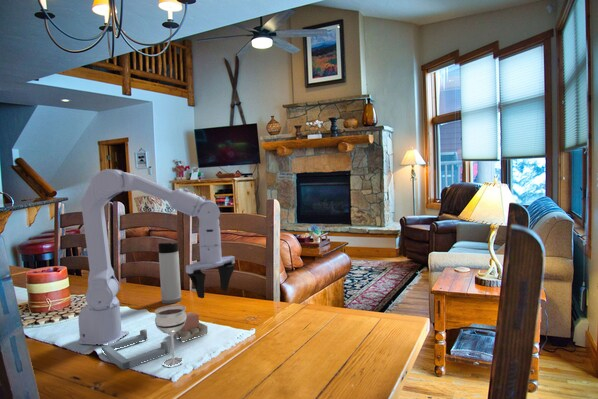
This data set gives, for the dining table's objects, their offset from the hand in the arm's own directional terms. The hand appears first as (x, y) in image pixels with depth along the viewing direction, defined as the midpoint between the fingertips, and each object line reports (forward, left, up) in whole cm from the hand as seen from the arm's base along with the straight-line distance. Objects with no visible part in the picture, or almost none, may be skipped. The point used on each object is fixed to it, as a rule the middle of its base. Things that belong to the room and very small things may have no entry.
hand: (213, 293), depth 111 cm
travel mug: (-24, +19, -9) cm, 32 cm away
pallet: (-4, -7, -9) cm, 12 cm away
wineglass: (0, -22, -9) cm, 23 cm away
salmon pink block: (-4, -7, -7) cm, 10 cm away
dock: (-12, -18, -9) cm, 23 cm away
